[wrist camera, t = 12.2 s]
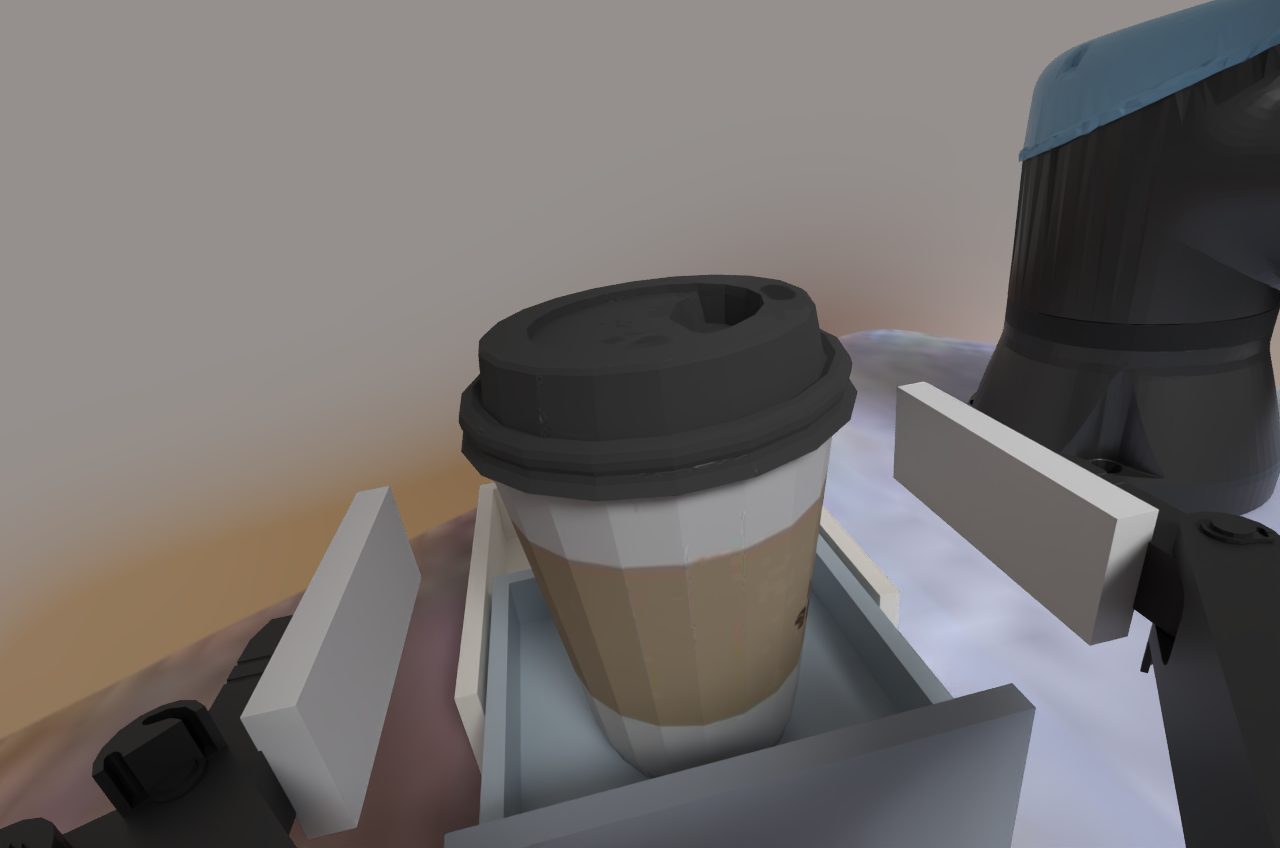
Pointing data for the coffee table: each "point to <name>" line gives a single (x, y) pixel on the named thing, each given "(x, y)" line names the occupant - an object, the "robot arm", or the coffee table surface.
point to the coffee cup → (668, 496)
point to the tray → (762, 780)
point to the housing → (505, 555)
